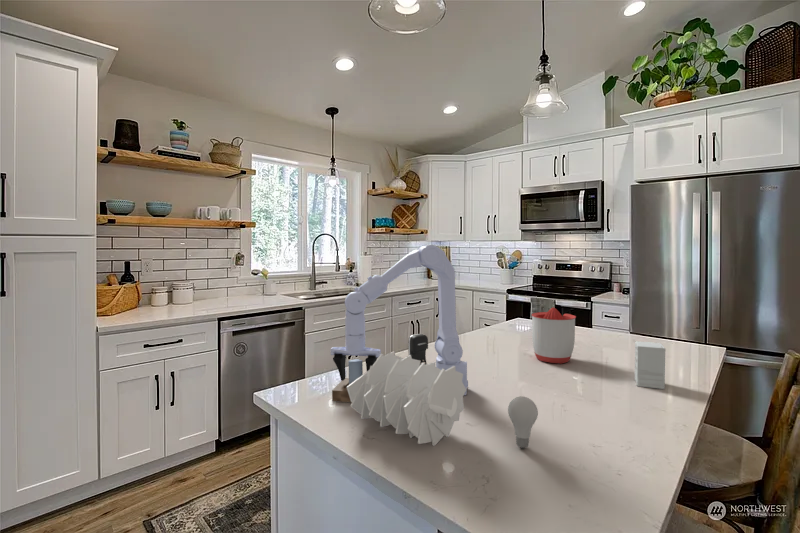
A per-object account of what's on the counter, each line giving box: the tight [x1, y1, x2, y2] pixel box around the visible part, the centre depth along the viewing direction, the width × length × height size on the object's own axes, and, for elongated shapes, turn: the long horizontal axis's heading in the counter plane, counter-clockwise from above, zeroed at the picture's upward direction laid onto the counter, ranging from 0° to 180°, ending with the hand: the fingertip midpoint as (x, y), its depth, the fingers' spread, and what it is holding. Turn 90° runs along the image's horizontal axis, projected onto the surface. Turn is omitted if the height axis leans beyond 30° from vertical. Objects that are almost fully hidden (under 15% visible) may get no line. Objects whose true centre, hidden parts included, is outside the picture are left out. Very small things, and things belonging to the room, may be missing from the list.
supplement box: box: [634, 340, 667, 390], centre depth 125 cm, size 7×7×13 cm
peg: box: [348, 358, 364, 385], centre depth 117 cm, size 4×4×10 cm
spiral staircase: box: [347, 350, 466, 447], centre depth 94 cm, size 18×18×25 cm
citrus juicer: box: [531, 306, 577, 365], centre depth 153 cm, size 16×17×20 cm
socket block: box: [331, 377, 352, 403], centre depth 117 cm, size 11×11×3 cm
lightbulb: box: [507, 395, 539, 449], centre depth 86 cm, size 6×6×11 cm
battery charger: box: [407, 333, 429, 365], centre depth 145 cm, size 7×4×11 cm, turn 125°
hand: (355, 380), depth 117 cm, fingers open, 7 cm apart
